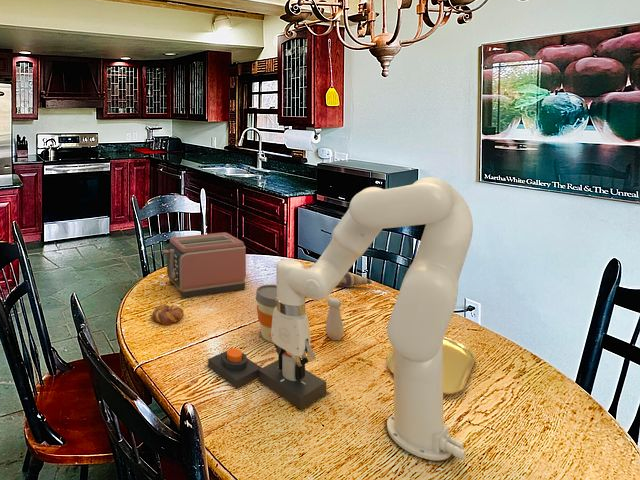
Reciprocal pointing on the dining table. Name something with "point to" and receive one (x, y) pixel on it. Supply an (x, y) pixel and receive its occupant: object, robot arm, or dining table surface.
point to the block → (234, 369)
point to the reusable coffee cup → (266, 308)
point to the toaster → (206, 264)
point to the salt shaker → (334, 319)
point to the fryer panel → (293, 385)
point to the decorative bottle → (352, 280)
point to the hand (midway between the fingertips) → (291, 372)
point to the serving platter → (450, 365)
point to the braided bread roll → (167, 314)
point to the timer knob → (289, 366)
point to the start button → (234, 355)
